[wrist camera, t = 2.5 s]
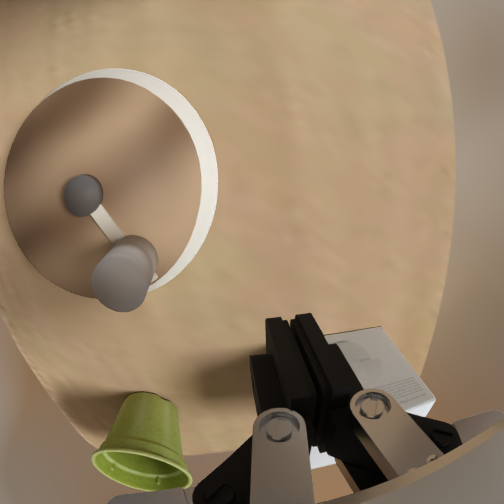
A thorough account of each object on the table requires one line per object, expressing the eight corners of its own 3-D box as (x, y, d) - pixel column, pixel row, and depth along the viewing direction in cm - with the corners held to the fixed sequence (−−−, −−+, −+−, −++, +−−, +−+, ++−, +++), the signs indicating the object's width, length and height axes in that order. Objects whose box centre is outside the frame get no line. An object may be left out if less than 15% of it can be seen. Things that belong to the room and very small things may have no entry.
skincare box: (277, 387, 28) (300, 474, 18) (280, 339, 25) (312, 435, 16) (369, 371, 29) (411, 442, 19) (383, 324, 26) (439, 397, 17)
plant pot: (129, 432, 28) (119, 489, 20) (94, 381, 25) (72, 446, 17) (201, 429, 29) (203, 492, 21) (178, 376, 26) (172, 452, 18)
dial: (-9, 178, 15) (-53, 193, 10) (124, 40, 13) (95, 11, 8) (94, 319, 20) (71, 363, 15) (246, 213, 18) (257, 240, 14)
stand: (66, 53, 14) (53, 46, 12) (258, 126, 19) (263, 124, 16) (9, 239, 19) (-5, 248, 17) (167, 314, 23) (164, 331, 21)
